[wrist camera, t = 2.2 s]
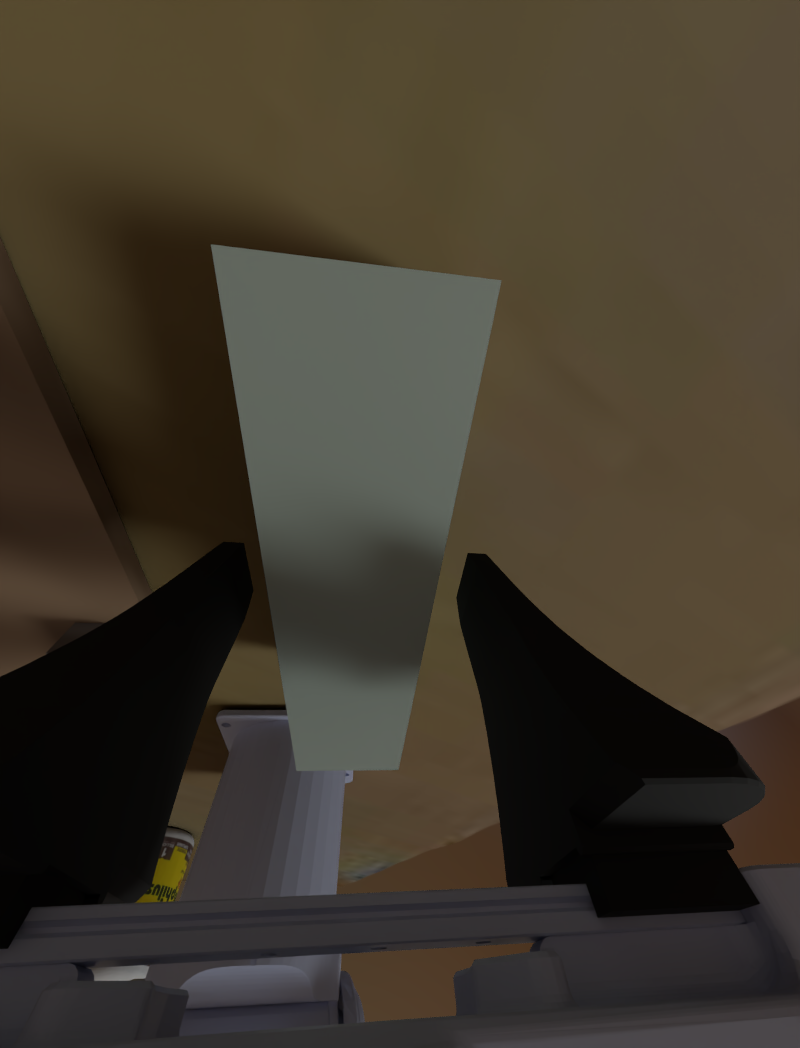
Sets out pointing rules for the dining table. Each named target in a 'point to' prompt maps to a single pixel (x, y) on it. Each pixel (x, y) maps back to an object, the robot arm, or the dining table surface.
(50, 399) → the cradle board
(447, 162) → the dining table surface
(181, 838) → the supplement bottle
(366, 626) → the block
